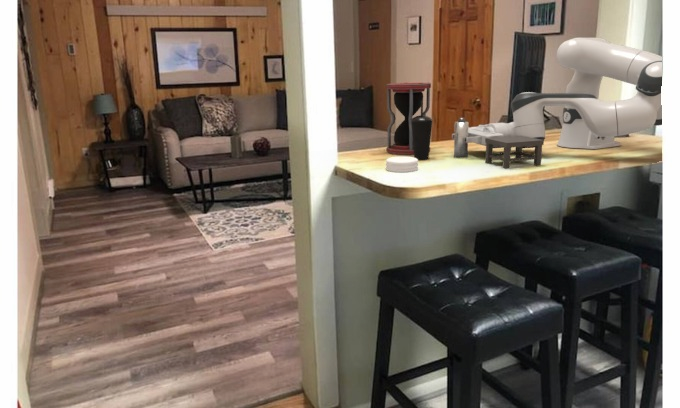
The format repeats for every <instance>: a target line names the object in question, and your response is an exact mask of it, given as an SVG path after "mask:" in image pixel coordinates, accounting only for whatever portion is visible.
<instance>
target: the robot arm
mask: <svg viewBox="0 0 680 408" xmlns="http://www.w3.org/2000/svg"><path fill="white" fill-rule="evenodd" d="M662 57H663V56H661V55H659V54H657V53H654V52H650V51H646V50H643V49H638V48H635V47H630V46H627V45H623V44H616V43H611V42H610V41H608V40H607V39H604V38H601V37H573V38H571V39H568V40H565V41H563V42H562V43H561V44H560V45H559V47H558V49H557V52H556V60H557V62H558V64H559V65H560V66H561V67H563V68H566V69H568V70H573V71H574V73H573V76H572V78H571V80H570V82H568V84H567V85H566V88H565V93H563V92H561V93H560V92H559V93H558V92H555V93H553V92H552V93H550V92H549V93H545V92H544V93H543V92H533V91H531V92H530V91H528V92H527V91H526V92H525V91H524V92H521V93H519V94H516V96H514V98H513V99H512V101H511V103H510V108H511V112H512V117H513V118H512V119H513V121H511V122H508V123H507V122H492V123H491V122H490V123H488V124H487V123H485V124H478V126H471V127H470V126H468V137H465V142H466V143H468V144H469V143H470V144H471V143H472V144H476V145H481V146H483V147H484V146H485V147H486V143H485V138H494V137H507V136H525V137H530V138H535V139H541V140H544V141H545V139H546V127H545V118H544V107H545V106H546V107H563V108H562V110H563V111H562V126H561V130H560V131H561V132H560V134H559V138H558V142H557V143H556V146H558V147H562V148H568V149H586V150H587V149H588V150H590V149H591V150H599V149H606V148H612V147H619V146H622V143H621V142H620V141H615V138H614V136H617V135H618V136H620V135H626V134H629V135H631V134H636V133H638V132H639V133H640V132H642V131H647V130H649V129H651V128H652V127H653V126H663V125H662V105H661V86H662ZM603 77H606V78H610V79H613V80H617V81H619V82H620V81H621V82H624V83H626V84H629V85H630V84H631V85H634V86H635V90H636V91H637V93H636V94H635V95H634V96H633V97H631V98H627V99H621V100H614V101H604V100H601V99H599V95H600V88H601V83H602V81H603ZM617 133H618V134H617ZM454 136H455V133H451V139H452V140H454ZM501 148H502V149H504V147H500V146H496V145H493V149H501ZM531 148H532V149H535V146H525V147H522V149H531Z"/></svg>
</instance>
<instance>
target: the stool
mask: <svg viewBox="0 0 680 408" xmlns="http://www.w3.org/2000/svg"><path fill="white" fill-rule="evenodd" d="M544 141H545V140H541V139H535V138H530V137H525V136H507V137H494V138H485V143H486V146H485V163H486V164H492V163H493V159H494V160H499V161H502V169H505V170H507V169H511V162H519V161H520V162H521V161H530V160H531V161H532V160H533V166H535V167H541V166H542V153H543V146H544ZM493 145H496V146H500V147H504V148H503V152H496V153H493V151H494V150H493V149H494V148H493ZM525 146H535V147H534V152H533V153H534V154H531V153H527V152H523V148H522V147H525ZM512 148H515V151H512ZM513 155H514V157H512V156H513ZM511 157H512V158H511Z"/></svg>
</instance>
